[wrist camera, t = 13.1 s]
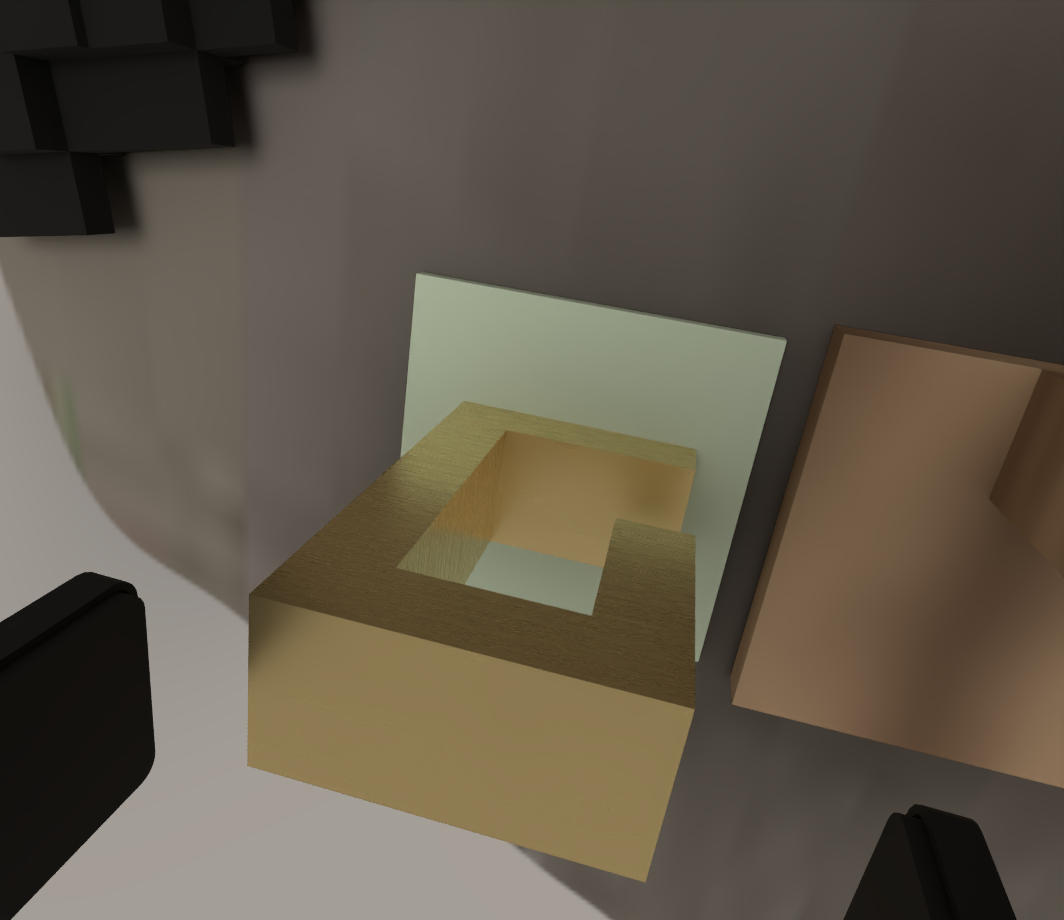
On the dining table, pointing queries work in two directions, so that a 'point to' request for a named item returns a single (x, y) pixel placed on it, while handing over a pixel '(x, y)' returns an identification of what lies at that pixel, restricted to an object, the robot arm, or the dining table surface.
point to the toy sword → (114, 94)
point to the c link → (491, 641)
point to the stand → (920, 558)
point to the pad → (596, 406)
